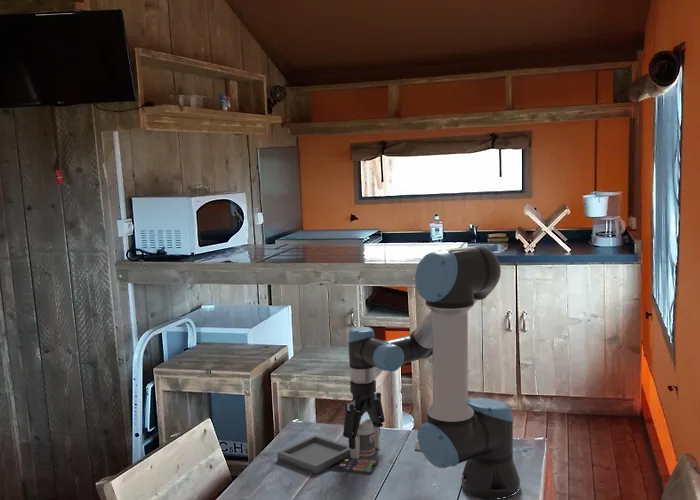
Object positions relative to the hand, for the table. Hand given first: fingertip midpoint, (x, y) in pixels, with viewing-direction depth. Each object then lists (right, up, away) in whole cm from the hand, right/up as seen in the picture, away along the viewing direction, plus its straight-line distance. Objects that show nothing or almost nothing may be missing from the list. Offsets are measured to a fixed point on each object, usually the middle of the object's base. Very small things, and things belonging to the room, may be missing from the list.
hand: (365, 452), depth 207 cm
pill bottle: (0, 0, 0) cm, 0 cm away
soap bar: (+19, +1, +5) cm, 19 cm away
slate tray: (-15, -1, -2) cm, 15 cm away
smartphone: (-5, -2, -8) cm, 9 cm away
